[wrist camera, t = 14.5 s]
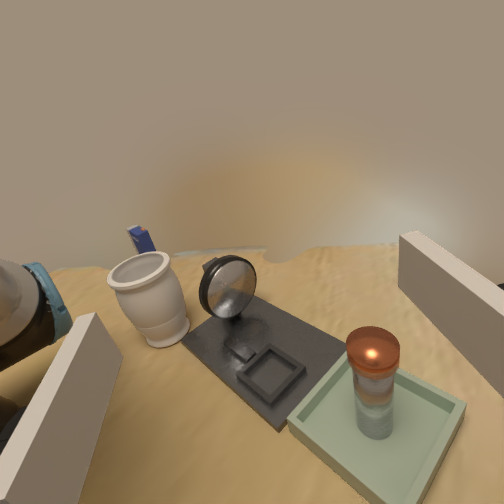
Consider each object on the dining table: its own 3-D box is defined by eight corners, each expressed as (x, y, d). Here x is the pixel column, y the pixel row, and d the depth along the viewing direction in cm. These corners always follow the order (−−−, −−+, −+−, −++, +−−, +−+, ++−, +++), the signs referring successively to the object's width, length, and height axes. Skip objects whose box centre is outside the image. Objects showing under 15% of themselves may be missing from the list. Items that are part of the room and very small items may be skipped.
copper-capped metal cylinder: (344, 424, 36) (336, 348, 30) (366, 395, 39) (362, 319, 32) (383, 453, 33) (383, 374, 27) (404, 419, 35) (409, 340, 29)
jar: (203, 312, 61) (178, 248, 54) (182, 354, 53) (150, 285, 45) (157, 313, 64) (128, 252, 57) (130, 352, 56) (92, 287, 48)
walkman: (164, 269, 80) (147, 229, 74) (155, 275, 78) (136, 234, 72) (152, 261, 85) (134, 222, 79) (143, 266, 84) (124, 227, 78)
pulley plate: (181, 343, 55) (154, 283, 48) (247, 294, 63) (231, 237, 56) (278, 432, 38) (256, 359, 31) (351, 350, 46) (345, 278, 39)
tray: (290, 432, 38) (286, 417, 36) (353, 358, 45) (352, 343, 43) (405, 534, 28) (407, 521, 26) (463, 418, 35) (467, 403, 33)
